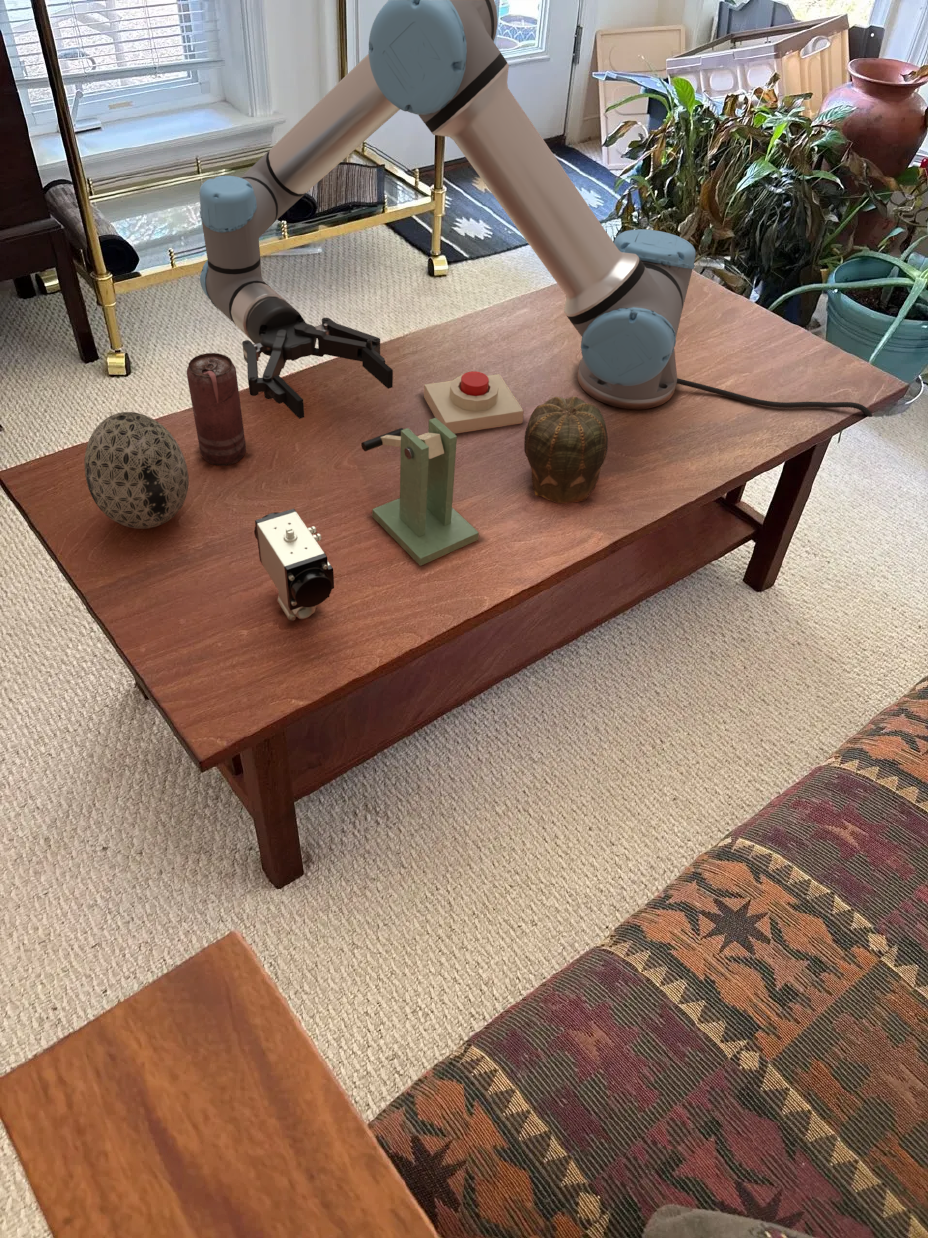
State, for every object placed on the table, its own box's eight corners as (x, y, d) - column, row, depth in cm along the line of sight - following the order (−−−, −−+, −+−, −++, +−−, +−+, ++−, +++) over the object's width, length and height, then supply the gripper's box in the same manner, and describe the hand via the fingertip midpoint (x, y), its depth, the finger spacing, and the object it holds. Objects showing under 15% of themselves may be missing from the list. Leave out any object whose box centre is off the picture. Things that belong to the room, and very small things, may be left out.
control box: (498, 386, 145) (500, 363, 142) (522, 423, 139) (525, 400, 136) (423, 396, 142) (424, 373, 139) (444, 435, 136) (446, 411, 133)
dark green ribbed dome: (572, 450, 135) (585, 377, 126) (613, 496, 129) (630, 422, 120) (505, 468, 131) (514, 394, 123) (544, 516, 125) (556, 441, 116)
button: (482, 379, 140) (483, 369, 138) (491, 394, 137) (492, 384, 136) (456, 383, 139) (457, 372, 137) (465, 398, 136) (466, 388, 135)
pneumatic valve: (298, 647, 107) (291, 570, 98) (259, 582, 113) (248, 504, 105) (343, 631, 109) (340, 554, 100) (301, 568, 115) (295, 490, 107)
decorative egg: (124, 562, 114) (97, 462, 103) (83, 510, 120) (54, 410, 109) (212, 526, 120) (195, 427, 109) (169, 477, 125) (149, 379, 115)
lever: (363, 455, 121) (358, 437, 120) (403, 440, 124) (398, 422, 123) (415, 464, 110) (410, 444, 109) (457, 448, 113) (453, 428, 112)
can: (209, 472, 127) (194, 382, 117) (195, 446, 130) (179, 356, 120) (253, 461, 129) (242, 372, 119) (238, 436, 133) (226, 346, 122)
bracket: (372, 516, 123) (371, 421, 112) (429, 493, 127) (433, 398, 116) (420, 566, 117) (424, 470, 106) (478, 540, 121) (487, 445, 110)
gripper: (344, 322, 144) (424, 391, 133) (191, 368, 133) (264, 447, 122) (343, 275, 138) (426, 343, 127) (183, 319, 127) (258, 397, 116)
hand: (347, 394), depth 124 cm, fingers open, 13 cm apart
